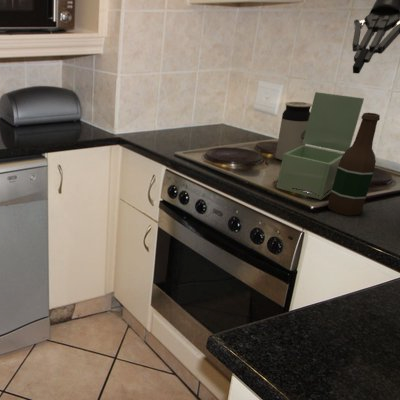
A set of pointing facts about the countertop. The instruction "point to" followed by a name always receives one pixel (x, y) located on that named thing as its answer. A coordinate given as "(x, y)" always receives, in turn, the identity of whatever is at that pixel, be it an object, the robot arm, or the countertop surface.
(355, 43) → the robot arm
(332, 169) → the green open box
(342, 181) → the beer bottle
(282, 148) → the travel mug
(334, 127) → the canister lid
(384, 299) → the countertop surface
